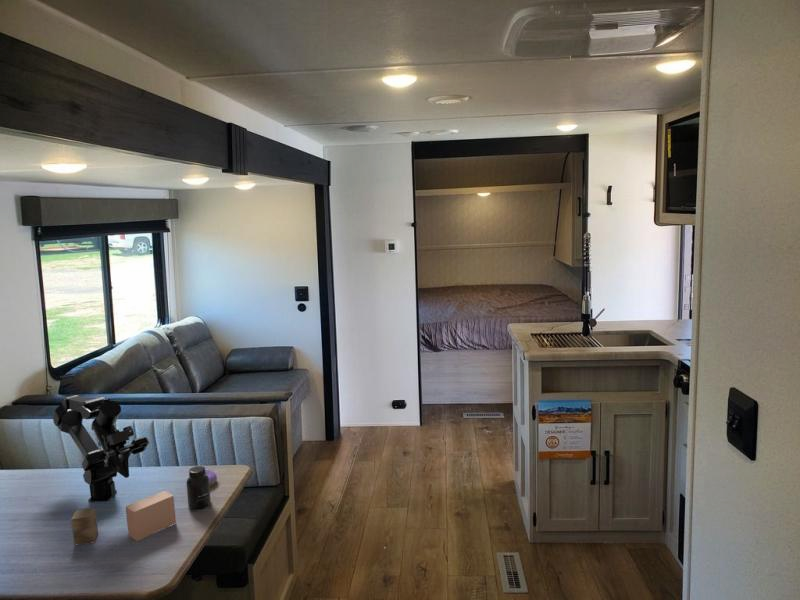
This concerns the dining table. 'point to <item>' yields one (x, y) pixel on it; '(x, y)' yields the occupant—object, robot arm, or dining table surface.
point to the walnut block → (84, 526)
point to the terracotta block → (150, 515)
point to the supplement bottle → (198, 488)
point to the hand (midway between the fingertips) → (127, 477)
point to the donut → (211, 477)
